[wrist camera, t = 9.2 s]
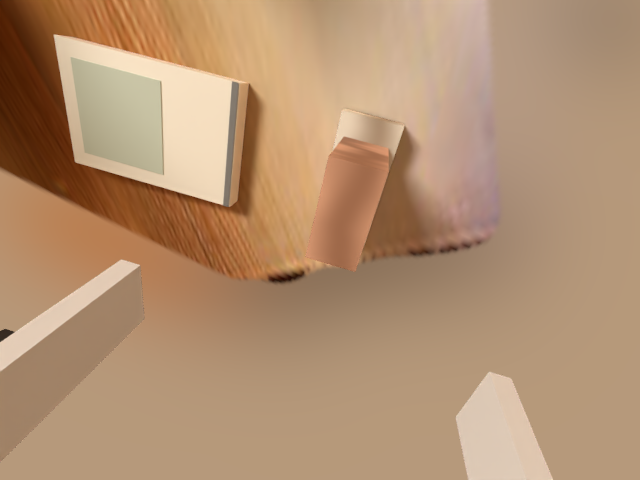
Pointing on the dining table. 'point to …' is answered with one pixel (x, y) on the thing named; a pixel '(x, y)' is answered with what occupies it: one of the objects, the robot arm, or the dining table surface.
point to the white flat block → (154, 119)
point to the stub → (352, 187)
